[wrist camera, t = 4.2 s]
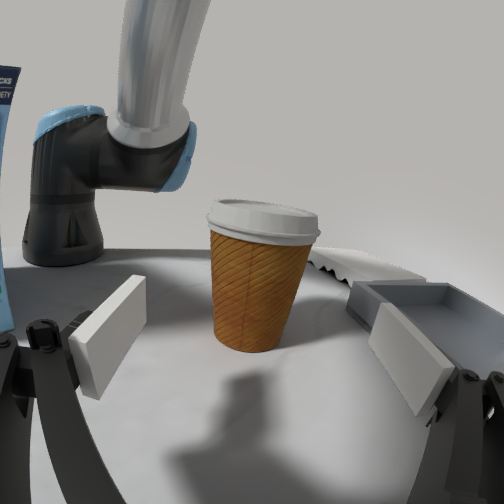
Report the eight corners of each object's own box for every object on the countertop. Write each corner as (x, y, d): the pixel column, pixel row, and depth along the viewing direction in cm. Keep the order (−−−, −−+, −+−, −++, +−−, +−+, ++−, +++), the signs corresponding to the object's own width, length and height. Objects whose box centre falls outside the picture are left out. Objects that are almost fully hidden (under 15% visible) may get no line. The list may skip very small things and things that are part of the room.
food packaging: (301, 262, 56) (367, 302, 38) (304, 246, 55) (373, 280, 37) (355, 264, 61) (421, 296, 43) (358, 250, 60) (426, 278, 42)
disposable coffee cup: (239, 302, 32) (253, 199, 29) (312, 334, 27) (338, 217, 24) (175, 329, 25) (183, 197, 22) (258, 380, 19) (288, 220, 16)
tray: (345, 309, 34) (353, 280, 33) (440, 304, 38) (447, 282, 37) (451, 415, 15) (475, 377, 14) (526, 364, 19) (539, 337, 18)
